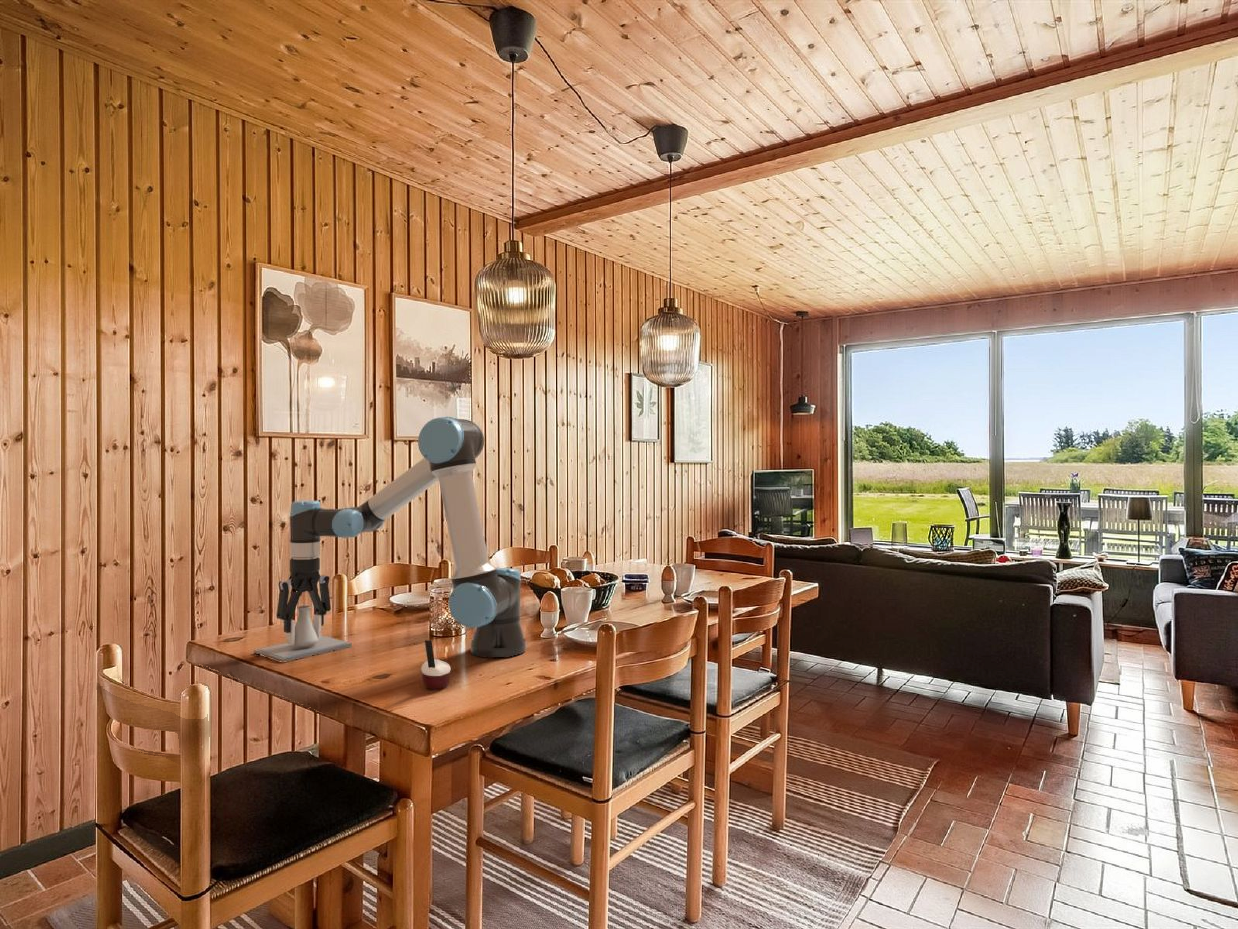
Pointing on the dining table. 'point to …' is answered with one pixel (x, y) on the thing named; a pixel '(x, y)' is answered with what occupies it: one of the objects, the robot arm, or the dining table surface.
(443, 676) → the cocoa
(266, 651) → the slate board
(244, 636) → the dining table surface
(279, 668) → the dining table surface
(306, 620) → the flask
